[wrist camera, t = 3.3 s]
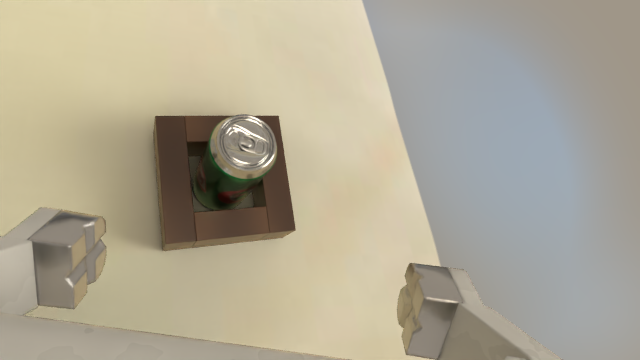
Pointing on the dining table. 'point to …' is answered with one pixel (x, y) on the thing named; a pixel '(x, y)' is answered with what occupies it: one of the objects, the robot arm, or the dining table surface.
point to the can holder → (221, 225)
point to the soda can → (234, 161)
